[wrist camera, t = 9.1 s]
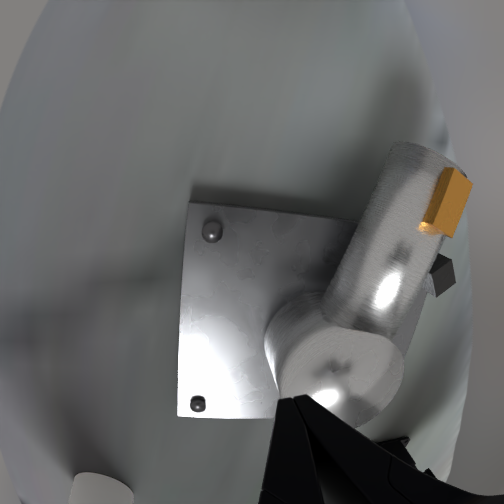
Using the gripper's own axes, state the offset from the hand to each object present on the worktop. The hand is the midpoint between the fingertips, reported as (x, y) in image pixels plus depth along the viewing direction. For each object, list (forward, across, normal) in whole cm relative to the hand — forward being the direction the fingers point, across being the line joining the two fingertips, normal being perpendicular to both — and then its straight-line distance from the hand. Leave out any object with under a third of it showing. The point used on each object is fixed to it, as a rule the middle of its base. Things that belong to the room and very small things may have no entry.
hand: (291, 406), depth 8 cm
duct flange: (+13, -4, +5) cm, 14 cm away
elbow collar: (+11, -7, +1) cm, 13 cm away
